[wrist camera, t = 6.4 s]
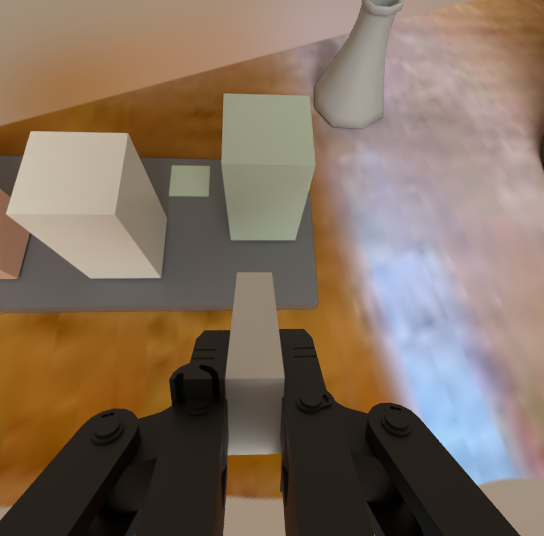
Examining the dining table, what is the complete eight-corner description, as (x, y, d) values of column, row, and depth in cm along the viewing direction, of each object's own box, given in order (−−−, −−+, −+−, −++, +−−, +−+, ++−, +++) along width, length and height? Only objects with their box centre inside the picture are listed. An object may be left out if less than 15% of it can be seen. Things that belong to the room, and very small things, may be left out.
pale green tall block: (292, 186, 28) (309, 95, 20) (295, 240, 26) (315, 165, 18) (231, 185, 28) (223, 93, 19) (230, 240, 26) (221, 164, 18)
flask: (303, 84, 35) (322, -30, 26) (366, 74, 36) (406, -39, 27) (326, 137, 33) (356, 32, 23) (393, 124, 34) (447, 20, 25)
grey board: (304, 171, 31) (307, 159, 29) (314, 309, 26) (318, 303, 25) (-16, 166, 29) (-30, 154, 28) (-67, 313, 24) (-88, 308, 23)
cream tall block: (167, 218, 26) (128, 133, 18) (161, 278, 25) (114, 214, 16) (101, 217, 26) (30, 131, 18) (90, 278, 24) (5, 213, 16)
